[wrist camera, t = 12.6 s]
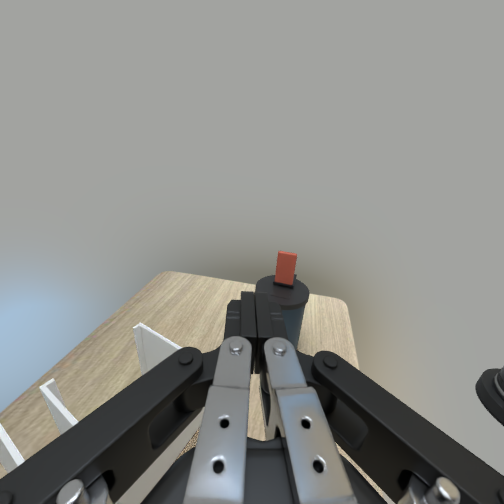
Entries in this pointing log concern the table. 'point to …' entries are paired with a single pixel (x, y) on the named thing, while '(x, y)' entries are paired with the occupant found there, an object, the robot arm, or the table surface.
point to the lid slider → (285, 269)
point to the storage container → (3, 449)
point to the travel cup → (287, 303)
